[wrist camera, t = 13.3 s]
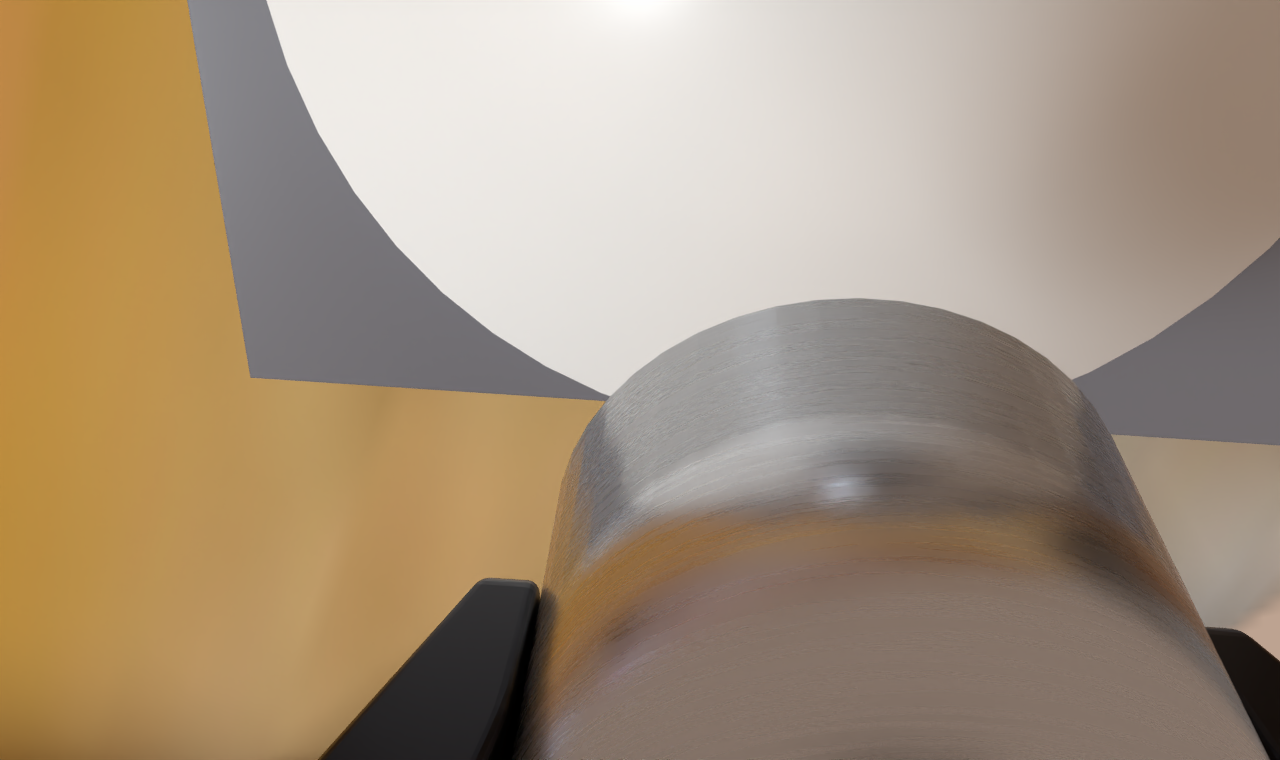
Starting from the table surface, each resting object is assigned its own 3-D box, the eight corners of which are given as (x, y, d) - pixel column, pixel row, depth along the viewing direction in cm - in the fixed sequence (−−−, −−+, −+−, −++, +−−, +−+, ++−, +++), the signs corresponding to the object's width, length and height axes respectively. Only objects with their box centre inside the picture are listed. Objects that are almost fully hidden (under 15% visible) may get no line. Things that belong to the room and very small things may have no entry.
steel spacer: (853, 801, 11) (914, 1328, 7) (450, 573, 10) (306, 1083, 6) (1252, 514, 9) (1582, 1060, 5) (809, 176, 8) (882, 614, 4)
